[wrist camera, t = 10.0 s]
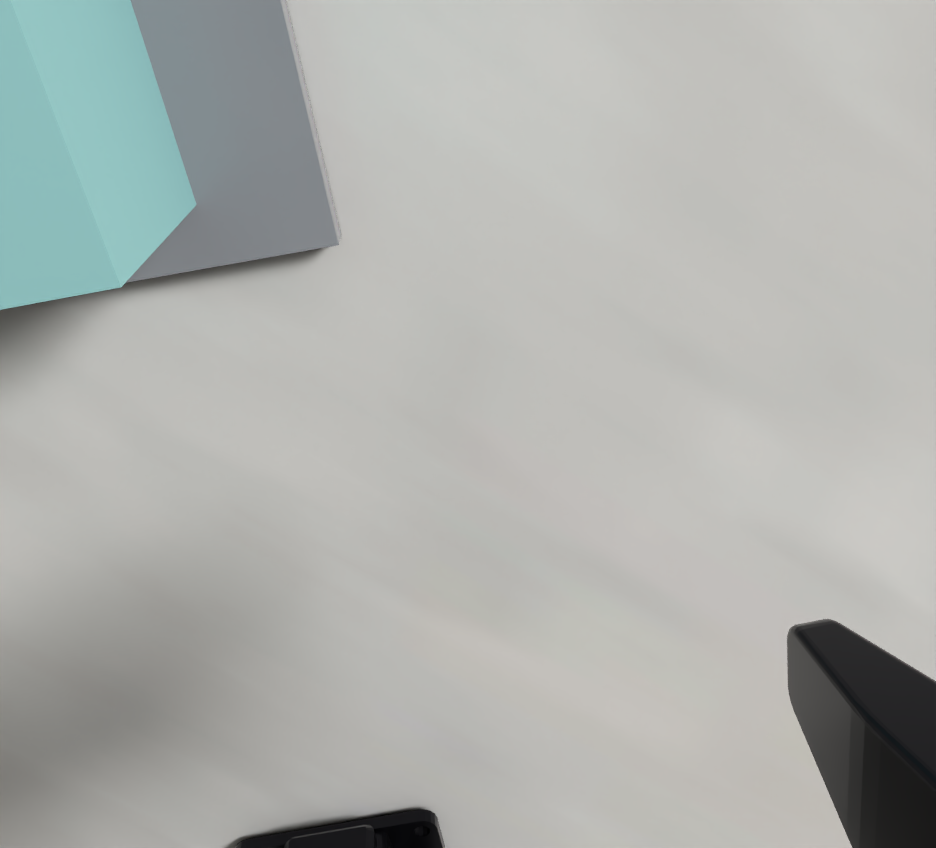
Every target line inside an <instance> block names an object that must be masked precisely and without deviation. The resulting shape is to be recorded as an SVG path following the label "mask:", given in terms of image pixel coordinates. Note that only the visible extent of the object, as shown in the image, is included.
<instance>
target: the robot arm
mask: <svg viewBox="0 0 936 848" xmlns="http://www.w3.org/2000/svg"><path fill="white" fill-rule="evenodd" d="M787 660H788V690H789V696H790V700H791V703H792V706H793V709H794V712H795V714H796V717H797V719H798V721H799V724H800V726H801V728H802V731H803V733H804V736H805V738H806V740H807V743H808V745H809V747H810V750H811V752H812V754H813V757H814V759H815V761H816V764H817V766H818V768H819V771H820V773H821V775H822V778H823V780H824V782H825V785H826V787H827V790H828V792H829V794H830V797H831V799H832V801H833V804H834V806H835V808H836V811H837V813H838V815H839V818H840V820H841V822H842V825H843V827H844V829H845V832H846V834H847V836H848V839H849V841H850V843H851V845H852V848H936V681H934V680H933V679H931V678H929V677H928V676H926V675H925V674H923V673H921V672H920V671H918V670H916V669H915V668H913V667H911V666H910V665H908V664H906V663H905V662H903V661H901V660H900V659H898V658H896V657H895V656H893V655H891V654H890V653H888V652H886V651H885V650H883V649H882V648H880V647H878V646H877V645H875V644H873V643H872V642H870V641H868V640H867V639H865V638H863V637H862V636H860V635H858V634H857V633H855V632H853V631H852V630H850V629H848V628H847V627H845V626H843V625H842V624H840V623H838V622H836V621H834V620H830V619H823V620H818V621H813V622H808V623H803V624H798V625H795V626H793V627H791V628H790V629H789V632H788V636H787ZM236 848H445V845H444V841H443V838H442V834H441V830H440V827H439V823H438V819H437V817H436V815H435V814H434V813H433V812H431V811H428V810H415V811H410V812H404V813H398V814H392V815H386V816H380V817H375V818H369V819H363V820H357V821H351V822H345V823H340V824H334V825H328V826H322V827H316V828H310V829H305V830H299V831H293V832H287V833H281V834H275V835H270V836H264V837H258V838H252V839H247V840H244V841H241V842H240V843H238V844H237V846H236Z"/></svg>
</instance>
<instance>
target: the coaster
mask: <svg viewBox="0 0 936 848" xmlns="http://www.w3.org/2000/svg"><path fill="white" fill-rule="evenodd" d="M131 3H132V7H133V10H134V13H135V16H136V19H137V22H138V25H139V28H140V31H141V34H142V37H143V41H144V44H145V47H146V50H147V53H148V56H149V59H150V62H151V65H152V68H153V72H154V75H155V78H156V81H157V84H158V87H159V90H160V93H161V96H162V99H163V102H164V106H165V109H166V112H167V115H168V118H169V121H170V124H171V127H172V130H173V133H174V136H175V140H176V143H177V146H178V149H179V152H180V155H181V158H182V161H183V164H184V167H185V171H186V174H187V177H188V180H189V183H190V186H191V189H192V192H193V195H194V198H195V201H196V206H195V207H194V208H193V209H192V210H191V212H190V213H189V214H188V215H187V216H186V217H185V218H184V219H183V220H182V221H181V222H180V224H179V225H178V226H177V227H176V228H175V229H174V230H173V231H172V232H171V233H170V235H169V236H168V237H167V238H166V239H165V240H164V241H163V242H162V243H161V244H160V245H159V247H158V248H157V249H156V250H155V251H154V252H153V253H152V254H151V255H150V256H149V257H148V259H147V260H146V261H145V262H144V263H143V264H142V265H141V266H140V267H139V268H138V270H137V271H136V272H135V273H134V274H133V275H132V276H131V277H130V278H129V279H128V280H127V282H133V281H138V280H144V279H150V278H155V277H161V276H167V275H172V274H178V273H183V272H189V271H195V270H200V269H206V268H212V267H217V266H223V265H229V264H234V263H240V262H246V261H251V260H257V259H262V258H268V257H274V256H279V255H285V254H291V253H296V252H302V251H308V250H313V249H319V248H325V247H330V246H336V245H339V242H340V237H341V232H340V227H339V223H338V219H337V215H336V210H335V206H334V202H333V198H332V193H331V189H330V185H329V180H328V176H327V172H326V168H325V163H324V159H323V155H322V151H321V146H320V142H319V138H318V134H317V129H316V125H315V121H314V117H313V112H312V108H311V104H310V100H309V95H308V91H307V87H306V83H305V78H304V74H303V70H302V65H301V61H300V57H299V53H298V48H297V44H296V40H295V36H294V31H293V27H292V23H291V19H290V14H289V10H288V6H287V2H286V0H131ZM127 282H126V283H127Z"/></svg>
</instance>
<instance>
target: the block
mask: <svg viewBox="0 0 936 848" xmlns="http://www.w3.org/2000/svg"><path fill="white" fill-rule="evenodd" d="M195 206H196V201H195V198H194V195H193V192H192V189H191V186H190V183H189V180H188V177H187V174H186V171H185V167H184V164H183V161H182V158H181V155H180V152H179V149H178V146H177V143H176V140H175V136H174V133H173V130H172V127H171V124H170V121H169V118H168V115H167V112H166V109H165V106H164V102H163V99H162V96H161V93H160V90H159V87H158V84H157V81H156V78H155V75H154V72H153V68H152V65H151V62H150V59H149V56H148V53H147V50H146V47H145V44H144V41H143V37H142V34H141V31H140V28H139V25H138V22H137V19H136V16H135V13H134V10H133V7H132V3H131V0H0V310H2V309H7V308H12V307H18V306H23V305H29V304H34V303H39V302H45V301H50V300H56V299H61V298H66V297H72V296H77V295H83V294H88V293H93V292H99V291H104V290H110V289H115V288H120V287H122V286H123V285H124V284H125V283H126V282H127V280H128V279H129V278H130V277H131V276H132V275H133V274H134V273H135V272H136V271H137V270H138V268H139V267H140V266H141V265H142V264H143V263H144V262H145V261H146V260H147V259H148V257H149V256H150V255H151V254H152V253H153V252H154V251H155V250H156V249H157V248H158V247H159V245H160V244H161V243H162V242H163V241H164V240H165V239H166V238H167V237H168V236H169V235H170V233H171V232H172V231H173V230H174V229H175V228H176V227H177V226H178V225H179V224H180V222H181V221H182V220H183V219H184V218H185V217H186V216H187V215H188V214H189V213H190V212H191V210H192V209H193V208H194V207H195Z"/></svg>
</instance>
